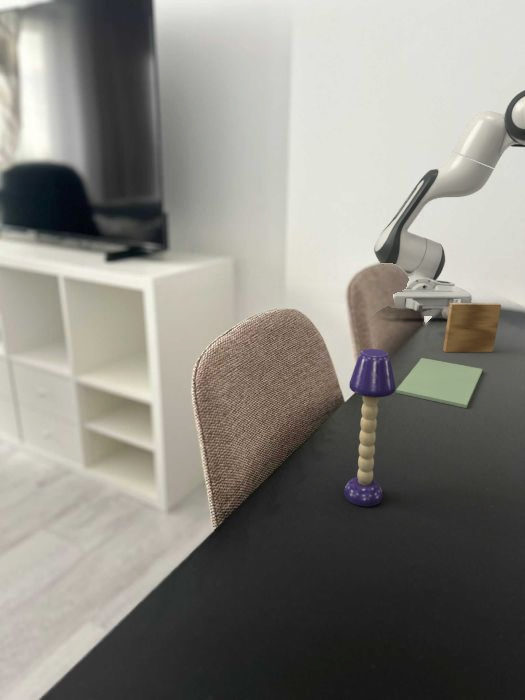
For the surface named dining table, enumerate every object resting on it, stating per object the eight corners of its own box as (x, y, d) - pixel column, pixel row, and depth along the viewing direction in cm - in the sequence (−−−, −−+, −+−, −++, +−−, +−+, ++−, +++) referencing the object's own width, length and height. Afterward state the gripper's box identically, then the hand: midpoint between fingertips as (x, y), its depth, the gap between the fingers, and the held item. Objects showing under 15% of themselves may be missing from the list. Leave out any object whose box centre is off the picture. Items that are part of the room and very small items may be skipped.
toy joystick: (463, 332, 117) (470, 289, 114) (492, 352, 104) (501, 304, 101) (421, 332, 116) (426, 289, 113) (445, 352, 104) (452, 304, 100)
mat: (421, 360, 99) (421, 357, 98) (482, 372, 94) (482, 369, 93) (395, 392, 84) (396, 389, 84) (466, 408, 79) (467, 404, 79)
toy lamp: (332, 492, 57) (342, 351, 52) (356, 476, 60) (369, 342, 55) (368, 512, 54) (383, 364, 48) (392, 494, 57) (409, 353, 52)
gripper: (380, 281, 130) (397, 293, 117) (458, 282, 131) (484, 294, 118) (378, 305, 132) (394, 320, 119) (455, 306, 133) (479, 320, 120)
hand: (439, 307), depth 119 cm, fingers open, 8 cm apart
